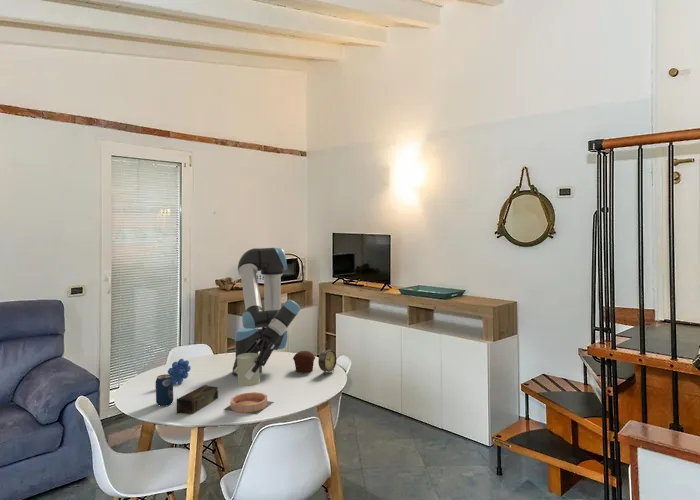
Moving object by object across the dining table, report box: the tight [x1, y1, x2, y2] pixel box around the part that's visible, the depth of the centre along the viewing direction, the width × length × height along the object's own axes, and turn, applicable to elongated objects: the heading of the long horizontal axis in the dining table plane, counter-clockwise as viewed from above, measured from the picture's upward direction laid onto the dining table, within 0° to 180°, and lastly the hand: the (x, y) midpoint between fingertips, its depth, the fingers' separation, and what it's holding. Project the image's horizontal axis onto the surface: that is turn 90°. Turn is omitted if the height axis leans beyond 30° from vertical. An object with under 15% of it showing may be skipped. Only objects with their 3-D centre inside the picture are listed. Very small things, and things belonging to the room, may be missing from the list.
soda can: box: [155, 373, 174, 407], centre depth 202 cm, size 7×7×12 cm
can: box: [237, 353, 261, 387], centre depth 196 cm, size 9×9×12 cm
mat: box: [223, 400, 275, 415], centre depth 197 cm, size 16×14×1 cm
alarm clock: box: [317, 341, 337, 376], centre depth 242 cm, size 11×5×16 cm, turn 148°
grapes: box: [167, 358, 192, 386], centre depth 229 cm, size 12×7×12 cm, turn 134°
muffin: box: [292, 350, 316, 374], centre depth 246 cm, size 12×11×10 cm
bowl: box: [229, 391, 268, 414], centre depth 197 cm, size 15×15×3 cm
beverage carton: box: [176, 384, 219, 415], centre depth 199 cm, size 8×19×7 cm, turn 162°
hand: (241, 375), depth 194 cm, fingers closed on can, 9 cm apart
